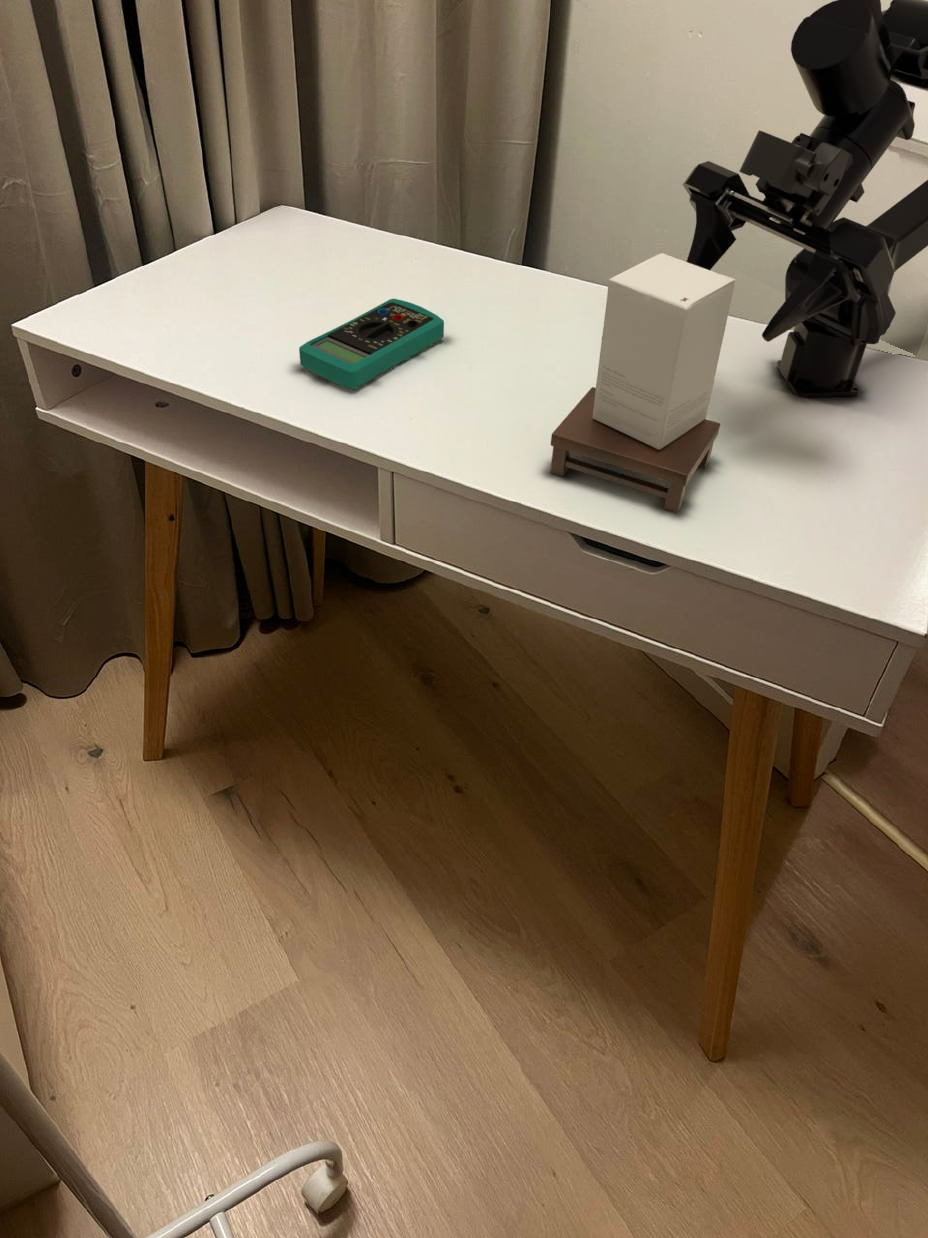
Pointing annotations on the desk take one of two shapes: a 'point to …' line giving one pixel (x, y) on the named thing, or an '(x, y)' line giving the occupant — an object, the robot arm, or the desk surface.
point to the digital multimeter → (371, 343)
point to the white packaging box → (660, 348)
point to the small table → (631, 453)
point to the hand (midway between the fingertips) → (721, 315)
